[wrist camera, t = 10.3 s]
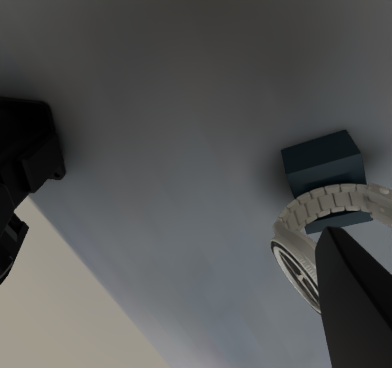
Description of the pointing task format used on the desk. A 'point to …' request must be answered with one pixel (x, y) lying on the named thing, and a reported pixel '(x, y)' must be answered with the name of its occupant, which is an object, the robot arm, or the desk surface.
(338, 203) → the watch
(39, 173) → the robot arm
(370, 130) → the desk surface
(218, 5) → the desk surface
